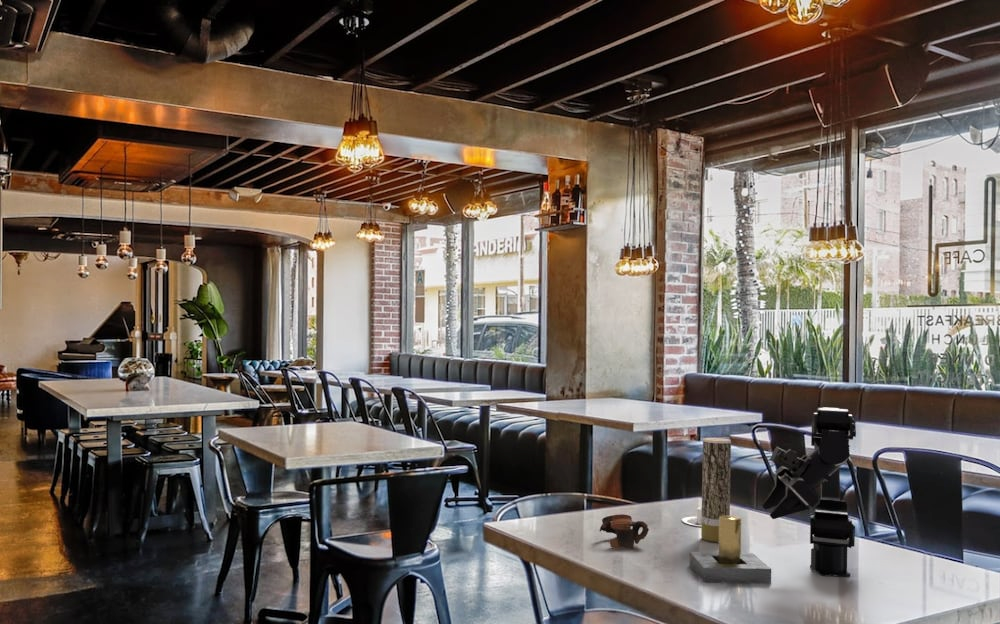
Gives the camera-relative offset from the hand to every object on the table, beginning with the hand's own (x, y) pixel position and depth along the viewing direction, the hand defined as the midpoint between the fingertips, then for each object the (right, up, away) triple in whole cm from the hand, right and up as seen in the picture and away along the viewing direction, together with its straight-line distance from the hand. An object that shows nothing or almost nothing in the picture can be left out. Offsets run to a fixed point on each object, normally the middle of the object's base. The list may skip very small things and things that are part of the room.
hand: (767, 512), depth 175 cm
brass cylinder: (-8, -13, +1) cm, 16 cm away
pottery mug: (-27, -14, +24) cm, 38 cm away
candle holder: (-1, -15, +48) cm, 50 cm away
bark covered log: (-3, -14, +30) cm, 33 cm away
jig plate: (-8, -13, +1) cm, 16 cm away
